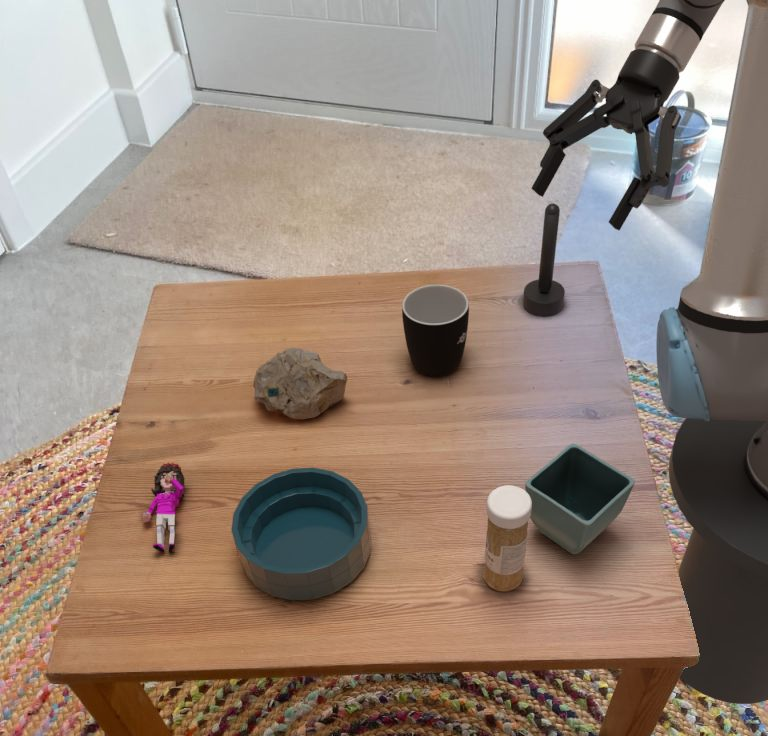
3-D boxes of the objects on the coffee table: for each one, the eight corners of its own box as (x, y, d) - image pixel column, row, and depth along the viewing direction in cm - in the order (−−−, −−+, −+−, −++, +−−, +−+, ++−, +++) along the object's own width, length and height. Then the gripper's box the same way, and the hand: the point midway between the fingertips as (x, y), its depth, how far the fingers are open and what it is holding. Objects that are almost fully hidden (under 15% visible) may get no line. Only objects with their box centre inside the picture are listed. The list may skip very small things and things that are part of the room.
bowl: (388, 580, 96) (385, 548, 92) (258, 621, 94) (248, 590, 89) (349, 486, 106) (344, 453, 101) (230, 521, 103) (219, 489, 99)
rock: (240, 414, 114) (253, 355, 107) (256, 387, 118) (269, 329, 111) (325, 445, 114) (343, 389, 107) (337, 417, 119) (355, 361, 112)
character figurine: (191, 554, 102) (193, 474, 108) (179, 532, 97) (181, 450, 104) (144, 560, 102) (149, 480, 108) (130, 539, 97) (136, 456, 104)
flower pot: (624, 530, 99) (637, 479, 92) (578, 575, 95) (588, 525, 88) (564, 492, 103) (572, 441, 96) (518, 533, 99) (523, 483, 92)
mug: (465, 385, 117) (466, 326, 109) (401, 382, 118) (397, 323, 110) (471, 330, 124) (473, 271, 116) (411, 328, 125) (408, 269, 118)
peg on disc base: (570, 310, 126) (583, 210, 113) (533, 320, 125) (542, 220, 112) (552, 288, 129) (563, 189, 117) (516, 298, 128) (523, 198, 116)
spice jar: (478, 564, 97) (482, 487, 87) (517, 557, 97) (525, 479, 87) (488, 596, 94) (493, 521, 84) (528, 589, 94) (538, 513, 84)
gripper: (745, 101, 110) (656, 250, 116) (591, 52, 123) (518, 189, 128) (733, 73, 104) (640, 232, 110) (572, 24, 117) (496, 169, 122)
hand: (574, 209), depth 119 cm, fingers open, 13 cm apart
